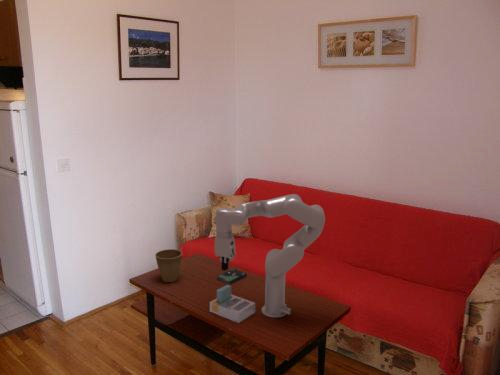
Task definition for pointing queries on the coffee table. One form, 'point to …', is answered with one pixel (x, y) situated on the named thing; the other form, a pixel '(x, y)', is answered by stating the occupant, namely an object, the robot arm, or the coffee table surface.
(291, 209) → the robot arm
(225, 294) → the panel
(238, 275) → the disk drive
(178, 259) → the plant pot
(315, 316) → the coffee table surface
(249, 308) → the frame
